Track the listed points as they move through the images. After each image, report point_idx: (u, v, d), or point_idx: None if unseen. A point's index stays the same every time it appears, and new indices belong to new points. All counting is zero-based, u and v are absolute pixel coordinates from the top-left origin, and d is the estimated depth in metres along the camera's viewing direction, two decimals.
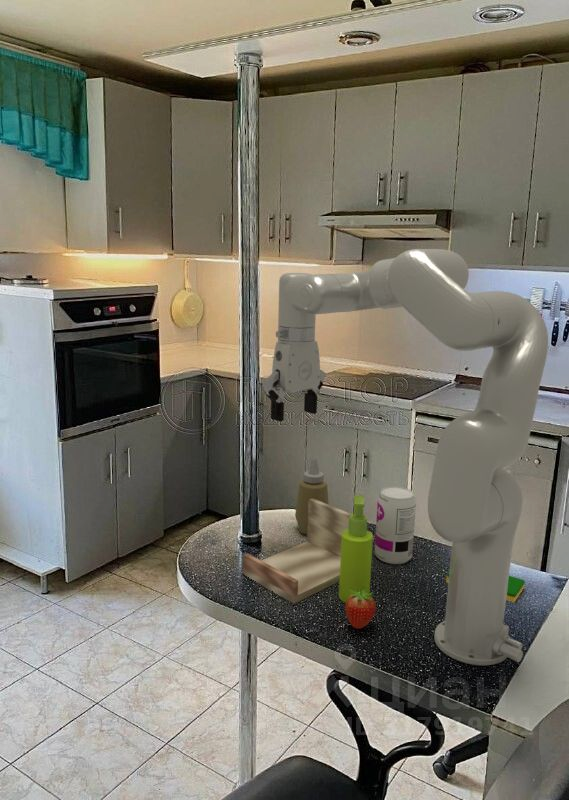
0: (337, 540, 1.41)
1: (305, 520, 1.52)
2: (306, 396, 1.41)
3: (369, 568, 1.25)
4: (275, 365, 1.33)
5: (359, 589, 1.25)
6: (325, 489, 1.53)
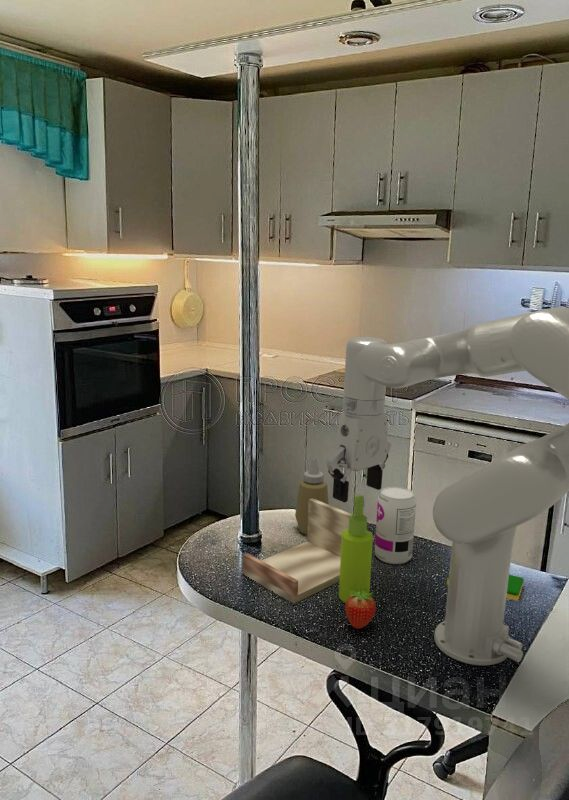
0: (337, 540, 1.41)
1: (305, 520, 1.52)
2: (369, 469, 1.27)
3: (369, 568, 1.25)
4: (340, 440, 1.19)
5: (359, 589, 1.25)
6: (325, 489, 1.53)
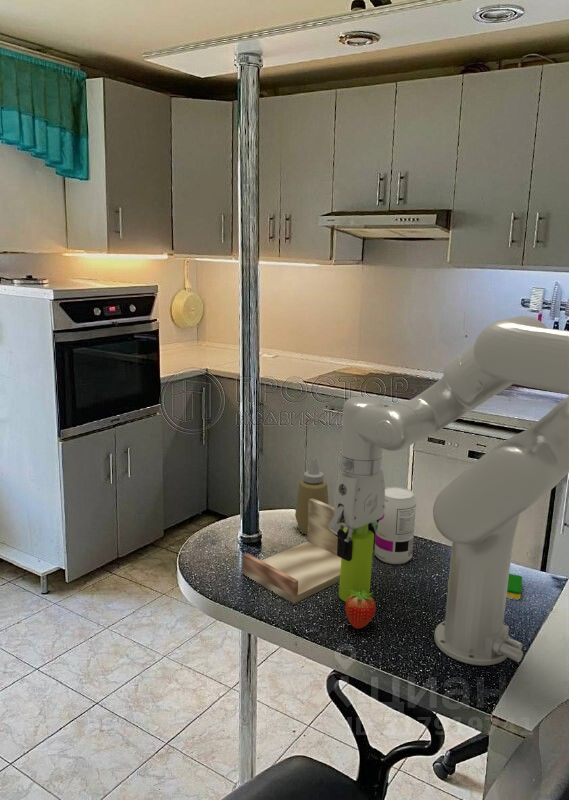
0: (337, 540, 1.41)
1: (305, 520, 1.52)
2: None
3: (370, 567, 1.25)
4: (338, 498, 1.21)
5: (359, 588, 1.25)
6: (325, 489, 1.53)
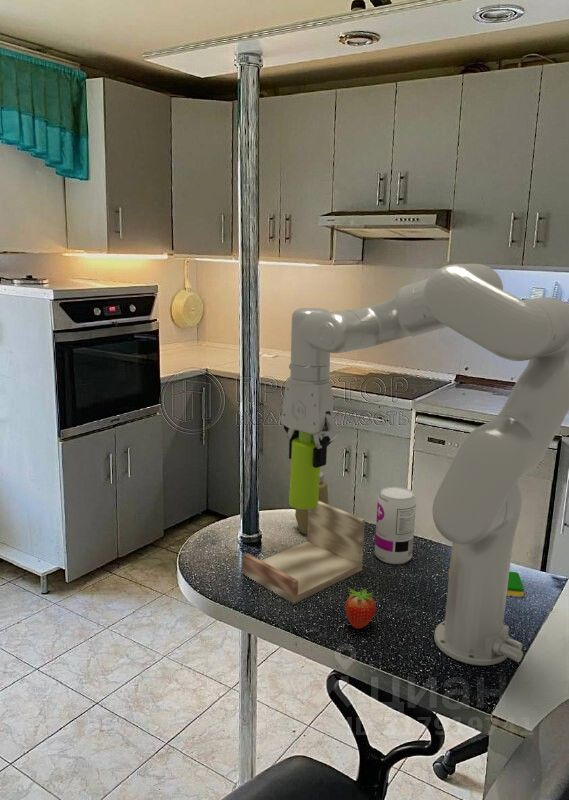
0: (337, 540, 1.41)
1: (305, 520, 1.52)
2: None
3: (297, 475, 1.29)
4: None
5: (290, 489, 1.32)
6: (325, 489, 1.53)
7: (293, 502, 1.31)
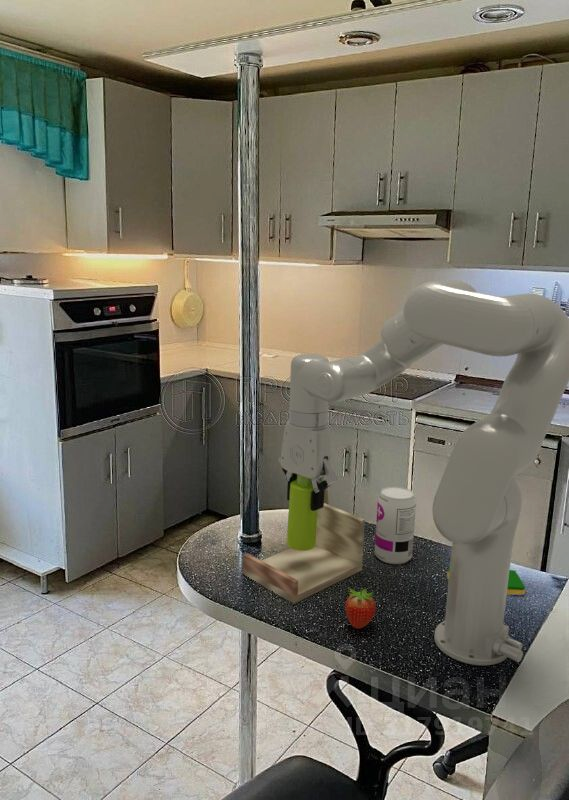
0: (337, 540, 1.41)
1: None
2: None
3: (295, 517, 1.31)
4: None
5: None
6: None
7: (291, 543, 1.33)
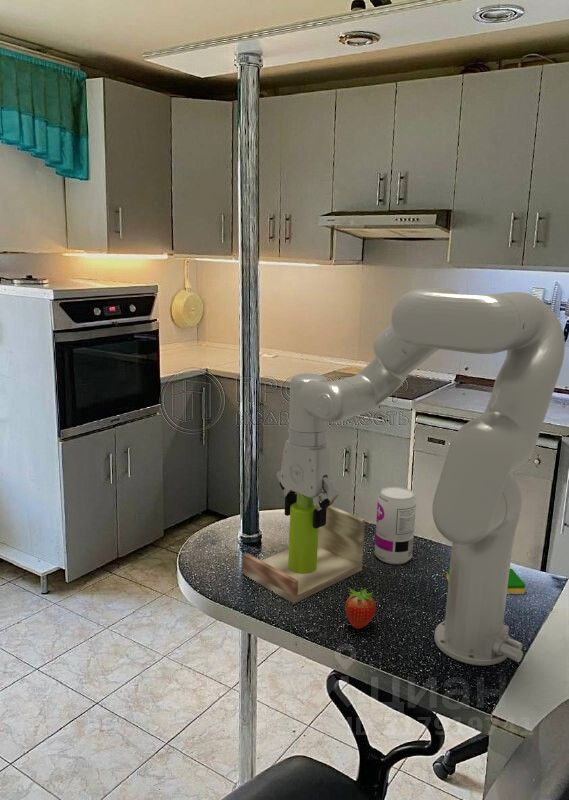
0: (337, 540, 1.41)
1: None
2: None
3: (296, 540, 1.32)
4: None
5: (289, 553, 1.35)
6: None
7: (292, 566, 1.34)
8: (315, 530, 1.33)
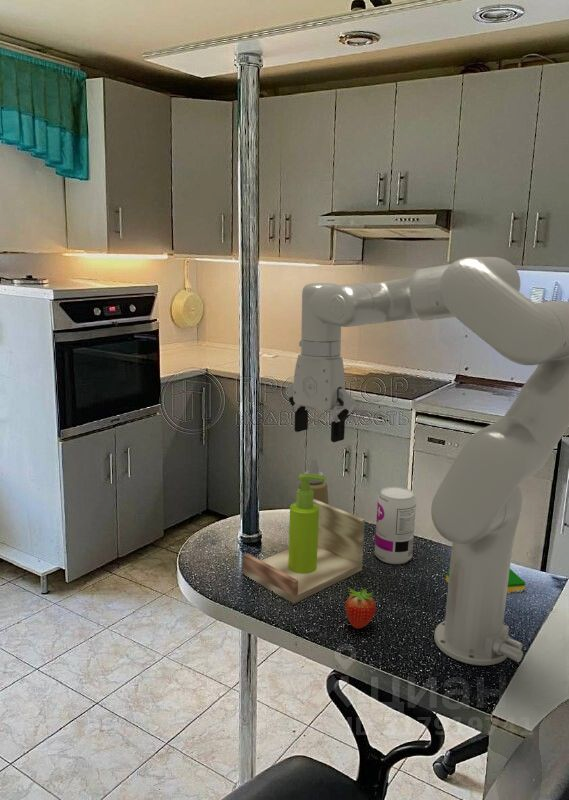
0: (337, 540, 1.41)
1: None
2: None
3: (296, 540, 1.32)
4: None
5: (289, 553, 1.35)
6: (325, 489, 1.53)
7: (292, 566, 1.34)
8: (315, 530, 1.32)
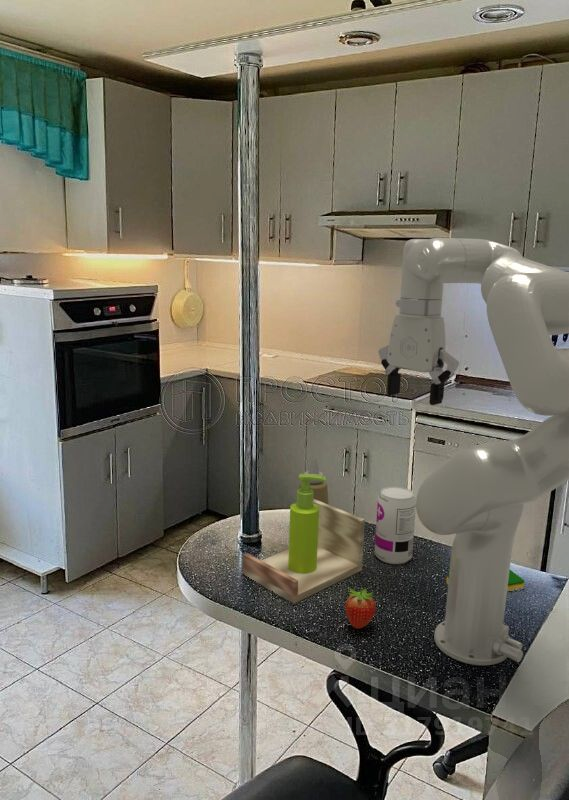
0: (337, 540, 1.41)
1: None
2: None
3: (296, 540, 1.32)
4: None
5: (289, 553, 1.35)
6: (325, 489, 1.53)
7: (292, 566, 1.34)
8: (315, 531, 1.32)
